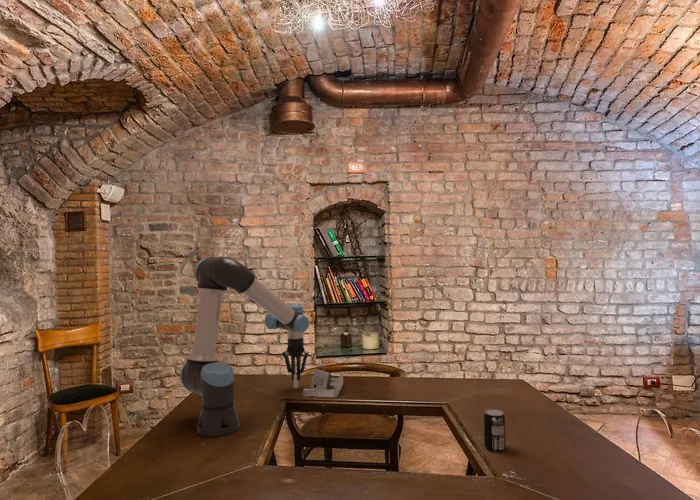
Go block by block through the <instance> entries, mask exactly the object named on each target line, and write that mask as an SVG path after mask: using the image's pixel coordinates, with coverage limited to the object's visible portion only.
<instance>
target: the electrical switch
mask: <svg viewBox="0 0 700 500" xmlns="http://www.w3.org/2000/svg"><path fill="white" fill-rule="evenodd" d="M312 373H313V374H312V378H311V379H312V382H311V385H310V389H331V388H330V387H331V386H330V382H331V378H332V375H333V374H331V373H330V372H328V371H324V370H320V369H314V370H313V372H312Z"/></svg>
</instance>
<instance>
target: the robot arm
mask: <svg viewBox="0 0 700 500" xmlns="http://www.w3.org/2000/svg"><path fill="white" fill-rule="evenodd" d="M194 277H195V279H196V281H197V290H198V291H199V292H200V295H199V302H198V309H197V315H196V316H197V317H196V322H195V323H196V324H195V328H194V329H195V330H194V336H193V337H194V338H193V343H192V351H191V354H189V355H188V356H187V358H186V363H184V365H183V366H182V367H181V369H180V372H179V380H180V383H181V385H182V386H183V387H184V388H185V389H186V390H187V391H189V392H191V393H194V394H196V395H199V396H200V397H201V411H200V414H199V417H198V421H197V424H196V432H197V434H198V435H199V436H202V437H206V438H207V437H209V438H214V437H223V436H227V435H230V434H232V433H234V432H236V431H237V430H238V429H239V428H240V419H239V416H238V412H237V411H236V408H235V374H234V368H233V366H231V365H230V364H228V363H224V362H218V361H219V360H218V359H219V358H218V357H217V356H216V354H215V352H216V347H217V339H218V331H219V324H220V318H221V317H220V316H221V308H222V302H223V301H222V300H223V295H224V294H226V293H227V292H228V288H229V289H231V290H233V291H235V292H237V293H238V294H240V295H241V294H243V295H245V296H246V297H248V299H250V300H251V301H253V302H254V303H255V304H256V305H258V306H259V307H260V308H261V309H263V310H265V311H266V312H267V314H266V315H265V317H264V325H265V327H266V328H267V329H269V330H277V329H281V330H286V331H287V348H286V350H284V351H283V352H282V353H281V354H282V357H283V358H284V361H285V367H286V370H287V373H291V381H293V388H294V389H298V387H299V382H300V380H301V374H303V372H305V367H306V365H307V364H306V363H307V359H308V356H309V355H310V352H309V351H306V349H305V347H304V333H305V332H306V331H307V330H308V329H309V327H310V320H309V318H308V317H307V315H304V308H303V305H301V304H289V305H288V304H287V303H286V302H284V300H282V299H281V298H280V297H279V296H277V294H275V293H274V292H272V291H271V290H270V289H269V288H268V287H267V286H265V285H264V284H263V283H261V282H260V281H259V280H258V279H257V278H256V274H255V273H254V272H253V271H251V270H250V269H249V268H247V267H246V266H245V265H244V264H243V263H241V262H240V261H238V260H236V259H234V258H233V257H230V256H209V257H204V258H203V259H201V260H199V262H198V263H196V266H195V268H194ZM302 355H303V359H302V362H301V357H302ZM289 356H290V357H289Z"/></svg>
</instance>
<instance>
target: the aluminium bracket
mask: <svg viewBox="0 0 700 500" xmlns="http://www.w3.org/2000/svg"><path fill="white" fill-rule="evenodd" d="M311 383H312V378H311ZM332 386H333V389H331V388H329V389H311V388H303V390H302V392H303V395H302V397H309V396H314V398H315V397H317V398H338V397H339V394H340V392H341V390H342V388H343V386H344V374H339V376H338V377H337V378H333V377H331V382H330V387H332Z"/></svg>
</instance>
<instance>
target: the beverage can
mask: <svg viewBox="0 0 700 500" xmlns="http://www.w3.org/2000/svg"><path fill="white" fill-rule="evenodd" d="M505 419H506V418H505V415H504V411H502V410H501V409H496V408H488V409H485V411H484V414H483V436H484V437H483V438H484V439H483V440H484V441H483V443H484V447H485V448H486V449H487V450H488V451H490V452H495V453H496V452H497V453H498V452H503V451H504V450H505V449H506V420H505Z"/></svg>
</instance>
